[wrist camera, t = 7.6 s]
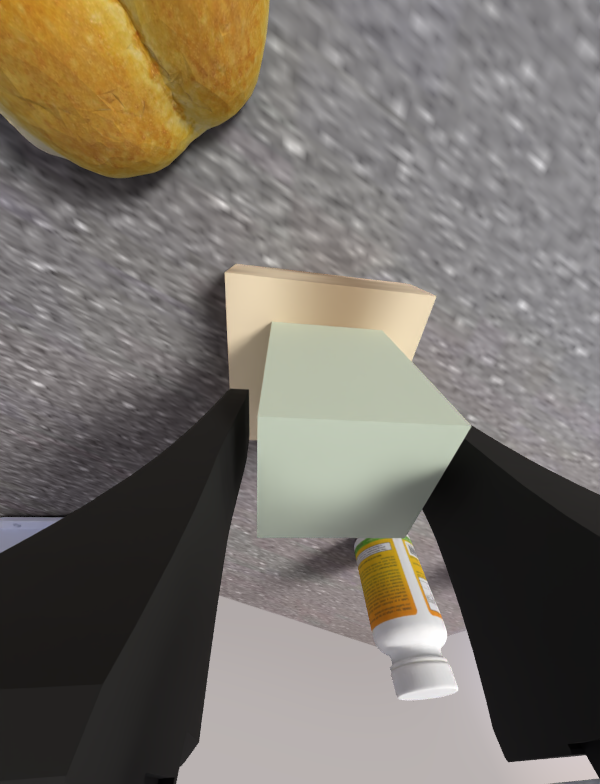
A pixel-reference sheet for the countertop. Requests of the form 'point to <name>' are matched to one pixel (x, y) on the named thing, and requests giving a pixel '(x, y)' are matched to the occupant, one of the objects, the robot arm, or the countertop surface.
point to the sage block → (347, 435)
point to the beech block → (311, 315)
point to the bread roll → (126, 75)
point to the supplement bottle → (404, 617)
